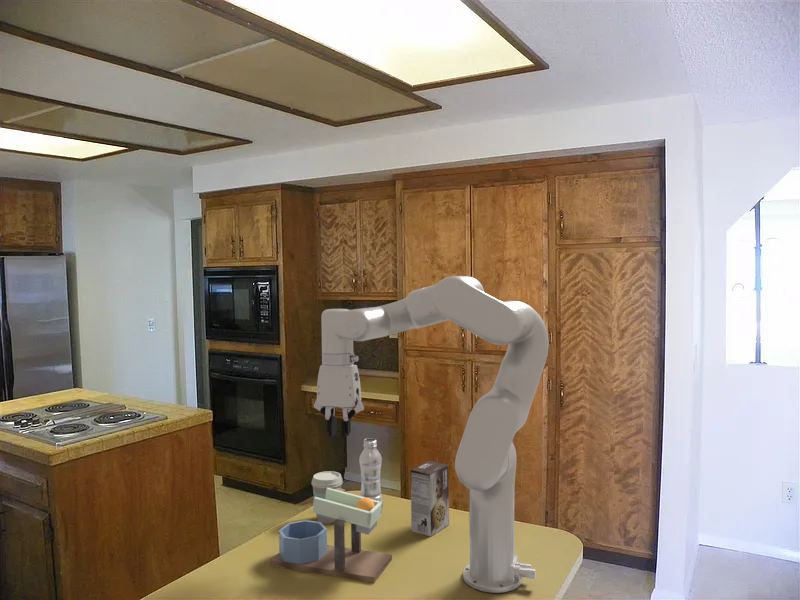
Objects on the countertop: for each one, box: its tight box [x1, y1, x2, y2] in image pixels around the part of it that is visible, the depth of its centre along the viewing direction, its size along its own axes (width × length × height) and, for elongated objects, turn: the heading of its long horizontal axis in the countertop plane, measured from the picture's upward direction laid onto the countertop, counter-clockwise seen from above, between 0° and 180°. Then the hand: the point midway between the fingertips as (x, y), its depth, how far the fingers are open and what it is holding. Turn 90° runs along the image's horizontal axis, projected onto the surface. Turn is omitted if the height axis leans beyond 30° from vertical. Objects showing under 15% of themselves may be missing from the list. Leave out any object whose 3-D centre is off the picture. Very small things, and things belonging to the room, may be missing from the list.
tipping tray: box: [312, 488, 384, 536], centre depth 136 cm, size 14×13×5 cm
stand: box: [269, 519, 393, 584], centre depth 134 cm, size 26×11×12 cm, turn 71°
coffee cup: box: [311, 470, 344, 525], centre depth 159 cm, size 8×8×12 cm
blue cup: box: [278, 519, 328, 564], centre depth 137 cm, size 10×10×6 cm
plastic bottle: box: [358, 437, 384, 503], centre depth 165 cm, size 6×7×20 cm
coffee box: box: [410, 460, 450, 537], centre depth 153 cm, size 9×6×16 cm
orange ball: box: [357, 497, 375, 512], centre depth 131 cm, size 4×4×4 cm
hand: (339, 435), depth 142 cm, fingers open, 2 cm apart
